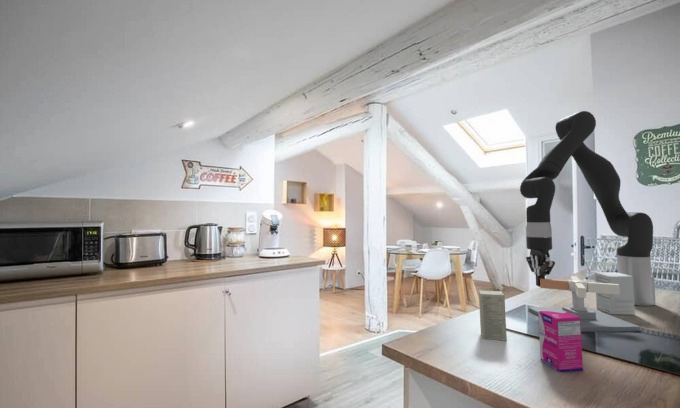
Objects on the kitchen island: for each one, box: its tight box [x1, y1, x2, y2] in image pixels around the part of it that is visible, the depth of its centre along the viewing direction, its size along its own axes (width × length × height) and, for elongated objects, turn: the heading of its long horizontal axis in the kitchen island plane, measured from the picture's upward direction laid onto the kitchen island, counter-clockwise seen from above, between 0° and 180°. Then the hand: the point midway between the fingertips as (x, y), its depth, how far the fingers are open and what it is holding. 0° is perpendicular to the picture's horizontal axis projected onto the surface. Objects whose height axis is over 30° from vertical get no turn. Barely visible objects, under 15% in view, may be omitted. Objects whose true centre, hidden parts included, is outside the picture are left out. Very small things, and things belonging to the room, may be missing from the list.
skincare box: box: [478, 289, 508, 341], centre depth 88 cm, size 6×4×12 cm
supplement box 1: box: [538, 309, 584, 373], centre depth 71 cm, size 6×6×12 cm
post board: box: [527, 291, 642, 333], centre depth 101 cm, size 20×20×9 cm
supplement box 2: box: [594, 271, 636, 316], centre depth 109 cm, size 7×7×13 cm
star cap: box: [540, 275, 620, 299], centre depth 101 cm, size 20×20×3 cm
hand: (540, 286), depth 110 cm, fingers closed
